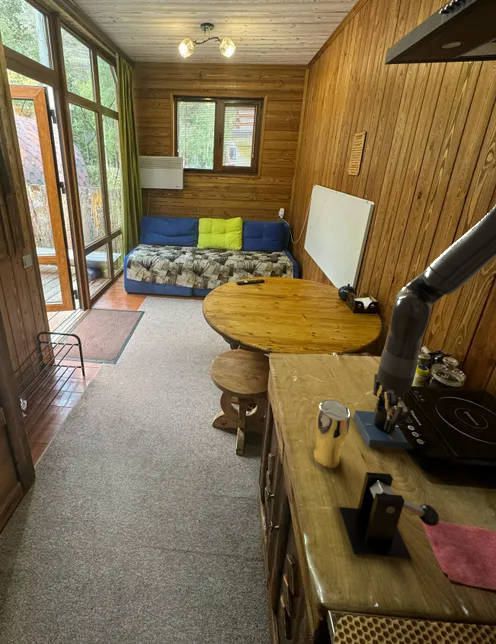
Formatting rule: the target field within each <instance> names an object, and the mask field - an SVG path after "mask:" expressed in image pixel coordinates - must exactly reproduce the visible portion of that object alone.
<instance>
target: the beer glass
mask: <svg viewBox="0 0 496 644" xmlns="http://www.w3.org/2000/svg"><path fill="white" fill-rule="evenodd" d="M351 414H352V413H351V410H350V408H349V407H348V406H347V405H346V404H345V403H343V402H341V401H339V400H336V399H333V398H328V399H323V400H321V402H320V403H319V407H318V410H317V415H316V419H315V436H316V444H315V448H314V450H313V457H314V459H315V460H316V461H317V463H318V464H320V465H322V466H323V467H326V468H336V467H338V465H339V464H340V462H341V460H340V454H341V450H342V448H343V446H344V444H345V442H346V441H347V437H348V434H349V430H350V424H351Z"/></svg>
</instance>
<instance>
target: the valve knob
mask: <svg viewBox="0 0 496 644" xmlns="http://www.w3.org/2000/svg"><path fill="white" fill-rule="evenodd" d="M390 407H393V406H391V405H390ZM375 408H376V407H375ZM374 412H375V411H374ZM394 413H395V412H392V413H391V415H392V416H393V414H394ZM386 418H387V410H386V409H385V404H378V405H377V408H376V412H375V417H374V421H373V423H374V425H375V427H376V428H377V429H379V430H381V431H383V432H386V431H385V429H384V426H385V422H386ZM386 433H391V432H386Z"/></svg>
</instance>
